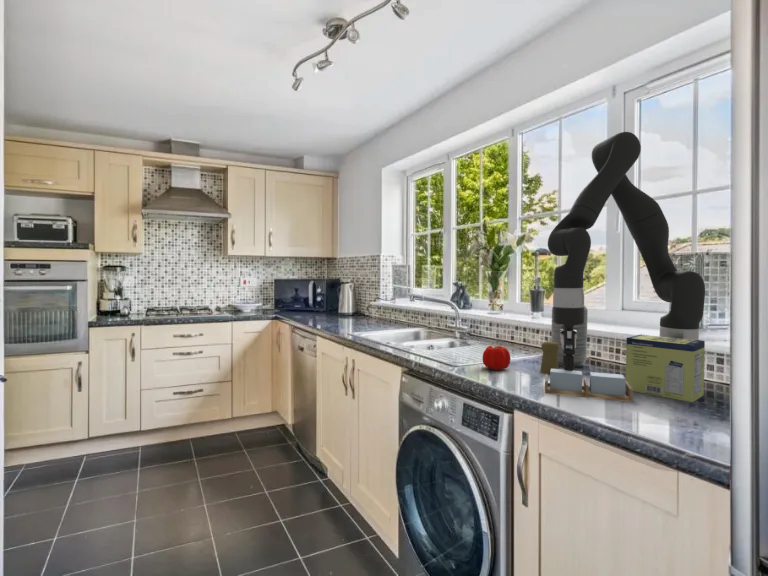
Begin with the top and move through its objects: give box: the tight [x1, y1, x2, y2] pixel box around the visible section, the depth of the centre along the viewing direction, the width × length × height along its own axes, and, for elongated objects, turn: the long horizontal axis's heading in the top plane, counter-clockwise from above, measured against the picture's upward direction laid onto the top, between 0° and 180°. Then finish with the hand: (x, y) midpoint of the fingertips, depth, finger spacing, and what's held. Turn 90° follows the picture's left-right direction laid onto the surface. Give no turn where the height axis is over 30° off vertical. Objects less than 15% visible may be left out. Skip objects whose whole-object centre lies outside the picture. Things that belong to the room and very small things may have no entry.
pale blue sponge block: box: [589, 371, 626, 396], centre depth 110 cm, size 8×4×5 cm, turn 68°
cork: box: [539, 340, 560, 375], centre depth 135 cm, size 6×6×11 cm
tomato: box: [482, 345, 511, 371], centre depth 146 cm, size 9×9×8 cm
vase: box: [550, 304, 589, 368], centre depth 153 cm, size 12×12×23 cm
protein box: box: [625, 334, 706, 404], centre depth 113 cm, size 10×16×16 cm
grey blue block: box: [549, 368, 583, 392], centre depth 113 cm, size 8×4×5 cm, turn 67°
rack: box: [544, 373, 634, 403], centre depth 112 cm, size 20×9×4 cm, turn 68°
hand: (568, 367), depth 113 cm, fingers open, 8 cm apart
